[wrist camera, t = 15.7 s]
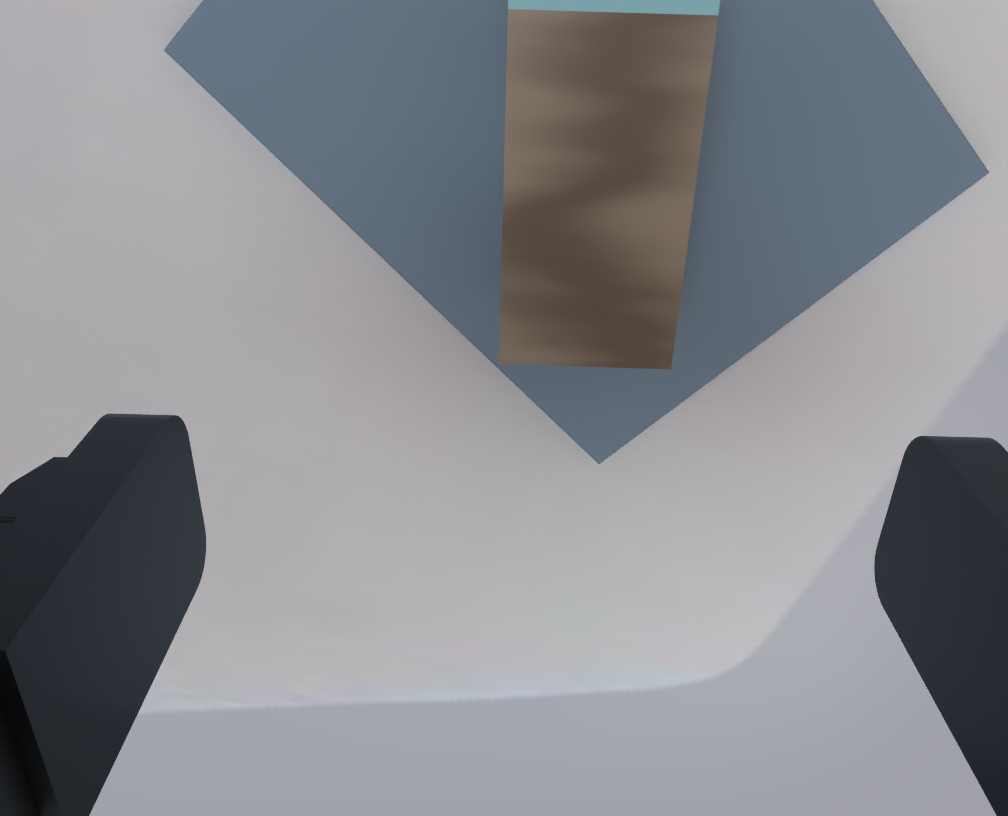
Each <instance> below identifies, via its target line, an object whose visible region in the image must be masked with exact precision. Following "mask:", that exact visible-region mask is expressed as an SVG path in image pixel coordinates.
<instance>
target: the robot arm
mask: <svg viewBox="0 0 1008 816" xmlns="http://www.w3.org/2000/svg"><path fill="white" fill-rule="evenodd" d="M205 554H206V533H205V526H204V520H203V514H202V509H201V503H200V497H199V492H198V486H197V481H196V475H195V469H194V464H193V458H192V452H191V447H190V441H189V436H188V432H187V429H186V426H185V424H184V422H183V420H182V419H181V418H180V417H179V416H176V415H142V414H106V415H104V416H103V417H101V418H100V419H99V420H98V422H97V423H96V424H95V425H94V426H93V428H92V429H91V430H90V431H89V432H88V434H87V435H86V436H85V437H84V438H83V440H82V441H81V442H80V443H79V444H78V446H77V447H76V448H75V449H74V450H73V451H72V453H71V454H70V455H69V456H68V457H54V458H52V459H50V460H49V461H47V462H45V463H44V464H42V465H40V466H39V467H37V468H36V469H34V470H32V471H31V472H29V473H27V474H26V475H24V476H22V477H21V478H19V479H17V480H16V481H14V482H13V483H11V484H10V485H9V486H8V487H7V488H6V489H5V490H4V491H3V492H2V494H1V495H0V816H89V814H90V813H91V810H92V808H93V806H94V804H95V802H96V800H97V798H98V795H99V794H100V792H101V789H102V787H103V785H104V783H105V781H106V779H107V777H108V775H109V773H110V771H111V768H112V766H113V764H114V762H115V760H116V758H117V756H118V754H119V752H120V750H121V747H122V745H123V743H124V741H125V739H126V737H127V735H128V733H129V731H130V729H131V726H132V724H133V722H134V720H135V718H136V716H137V714H138V712H139V710H140V708H141V706H142V703H143V701H144V699H145V697H146V695H147V693H148V691H149V689H150V687H151V685H152V682H153V680H154V678H155V676H156V674H157V672H158V670H159V668H160V666H161V664H162V661H163V659H164V657H165V655H166V653H167V651H168V649H169V647H170V645H171V643H172V640H173V638H174V636H175V634H176V632H177V630H178V628H179V626H180V624H181V622H182V620H183V617H184V615H185V613H186V611H187V609H188V607H189V605H190V603H191V601H192V599H193V596H194V594H195V592H196V590H197V588H198V586H199V583H200V580H201V577H202V573H203V569H204V563H205ZM875 582H876V587H877V592H878V596H879V599H880V601H881V604H882V606H883V608H884V610H885V611H886V613H887V615H888V617H889V619H890V621H891V622H892V624H893V626H894V628H895V630H896V632H897V633H898V635H899V637H900V639H901V641H902V642H903V644H904V646H905V648H906V650H907V652H908V654H909V655H910V657H911V659H912V661H913V663H914V665H915V666H916V668H917V670H918V672H919V674H920V676H921V678H922V679H923V681H924V683H925V685H926V687H927V689H928V690H929V692H930V694H931V696H932V698H933V700H934V701H935V703H936V705H937V707H938V709H939V710H940V712H941V714H942V716H943V718H944V720H945V722H946V723H947V725H948V727H949V729H950V731H951V732H952V734H953V736H954V738H955V740H956V741H957V743H958V745H959V747H960V749H961V751H962V753H963V755H964V756H965V758H966V760H967V762H968V764H969V766H970V767H971V769H972V771H973V773H974V775H975V776H976V778H977V780H978V782H979V784H980V786H981V787H982V789H983V791H984V793H985V795H986V797H987V799H988V800H989V802H990V804H991V806H992V808H993V810H994V811H995V813H996V815H997V816H1008V452H1007V451H1006V450H1005V449H1004V448H1003V447H1002V446H1001V445H1000V444H999V443H998V442H997V441H995V440H993V439H991V438H978V437H977V438H975V437H939V436H937V437H936V436H920V437H917V438H915V439H914V440H913V441H911V443H910V444H909V445H908V447H907V449H906V451H905V453H904V456H903V459H902V463H901V466H900V470H899V473H898V476H897V480H896V483H895V487H894V490H893V494H892V497H891V500H890V504H889V508H888V511H887V514H886V518H885V521H884V525H883V528H882V531H881V535H880V538H879V541H878V545H877V549H876V554H875Z"/></svg>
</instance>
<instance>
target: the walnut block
mask: <svg viewBox="0 0 1008 816" xmlns="http://www.w3.org/2000/svg"><path fill="white" fill-rule="evenodd" d="M719 6H720V0H508V25H507V65H506V105H505V145H504V184H503V224H502V264H501V304H500V344H499V364H518V365H549V366H580V367H611V368H642V369H671V367H672V359H673V352H674V344H675V337H676V329H677V322H678V314H679V307H680V299H681V292H682V284H683V277H684V269H685V262H686V254H687V247H688V239H689V232H690V224H691V216H692V209H693V201H694V194H695V186H696V179H697V171H698V164H699V156H700V149H701V141H702V134H703V126H704V119H705V111H706V104H707V96H708V89H709V81H710V74H711V66H712V59H713V51H714V44H715V36H716V29H717V21H718V14H719Z"/></svg>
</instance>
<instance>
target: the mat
mask: <svg viewBox="0 0 1008 816" xmlns="http://www.w3.org/2000/svg"><path fill="white" fill-rule="evenodd" d="M507 25H508V0H203V2H202V3H201V4H200V5H199V7H198V8H197V9H196V10H195V12H194V13H193V14H192V15H191V17H190V18H189V19H188V20H187V22H186V23H185V24H184V25H183V27H182V28H181V29H180V30H179V32H178V33H177V34H176V35H175V37H174V38H173V39H172V40H171V42H170V43H169V44H168V45H167V47H166V48H165V49H164V51H165V52H166V53H167V54H169V55H170V56H171V57H172V58H173V59H174V60H175V61H176V62H177V63H178V64H179V65H180V66H181V67H182V68H183V69H184V70H185V71H186V72H187V73H188V74H190V75H191V76H192V77H193V78H194V79H195V80H196V81H197V82H198V83H199V84H200V85H201V86H202V87H203V88H204V89H205V90H206V91H207V92H208V93H210V94H211V95H212V96H213V97H214V98H215V99H216V100H217V101H218V102H219V103H220V104H221V105H222V106H223V107H224V108H225V109H226V110H227V111H228V112H229V113H231V114H232V115H233V116H234V117H235V118H236V119H237V120H238V121H239V122H240V123H241V124H242V125H243V126H244V127H245V128H246V129H247V130H248V131H249V132H250V133H252V134H253V135H254V136H255V137H256V138H257V139H258V140H259V141H260V142H261V143H262V144H263V145H264V146H265V147H266V148H267V149H268V150H269V151H270V152H272V153H273V154H274V155H275V156H276V157H277V158H278V159H279V160H280V161H281V162H282V163H283V164H284V165H285V166H286V167H287V168H288V169H289V170H290V171H291V172H293V173H294V174H295V175H296V176H297V177H298V178H299V179H300V180H301V181H302V182H303V183H304V184H305V185H306V186H307V187H308V188H309V189H310V190H311V191H312V192H314V193H315V194H316V195H317V196H318V197H319V198H320V199H321V200H322V201H323V202H324V203H325V204H326V205H327V206H328V207H329V208H330V209H331V210H332V211H334V212H335V213H336V214H337V215H338V216H339V217H340V218H341V219H342V220H343V221H344V222H345V223H346V224H347V225H348V226H349V227H350V228H351V229H352V230H353V231H355V232H356V233H357V234H358V235H359V236H360V237H361V238H362V239H363V240H364V241H365V242H366V243H367V244H368V245H369V246H370V247H371V248H372V249H373V250H375V251H376V252H377V253H378V254H379V255H380V256H381V257H382V258H383V259H384V260H385V261H386V262H387V263H388V264H389V265H390V266H391V267H392V268H393V269H394V270H396V271H397V272H398V273H399V274H400V275H401V276H402V277H403V278H404V279H405V280H406V281H407V282H408V283H409V284H410V285H411V286H412V287H413V288H414V289H415V290H417V291H418V292H419V293H420V294H421V295H422V296H423V297H424V298H425V299H426V300H427V301H428V302H429V303H430V304H431V305H432V306H433V307H434V308H435V309H437V310H438V311H439V312H440V313H441V314H442V315H443V316H444V317H445V318H446V319H447V320H448V321H449V322H450V323H451V324H452V325H453V326H454V327H455V328H456V329H458V330H459V331H460V332H461V333H462V334H463V335H464V336H465V337H466V338H467V339H468V340H469V341H470V342H471V343H472V344H473V345H474V346H475V347H476V348H477V349H479V350H480V351H481V352H482V353H483V354H484V355H485V356H486V357H487V358H488V359H489V360H490V361H491V362H492V363H493V364H494V365H495V366H496V367H497V368H499V369H500V370H501V371H502V372H503V373H504V374H505V375H506V376H507V377H508V378H509V379H510V380H511V381H512V382H513V383H514V384H515V385H516V386H517V387H518V388H520V389H521V390H522V391H523V392H524V393H525V394H526V395H527V396H528V397H529V398H530V399H531V400H532V401H533V402H534V403H535V404H536V405H537V406H538V407H539V408H541V409H542V410H543V411H544V412H545V413H546V414H547V415H548V416H549V417H550V418H551V419H552V420H553V421H554V422H555V423H556V424H557V425H558V426H559V427H561V428H562V429H563V430H564V431H565V432H566V433H567V434H568V435H569V436H570V437H571V438H572V439H573V440H574V441H575V442H576V443H577V444H578V445H579V446H580V447H582V448H583V449H584V450H585V451H586V452H587V453H588V454H589V455H590V456H591V457H592V458H593V459H594V460H595V461H596V462H597V463H598V464H600V463H601V462H602V461H604V460H605V459H607V458H608V457H609V456H611V455H612V454H613V453H615V452H616V451H617V450H619V449H620V448H621V447H623V446H624V445H625V444H627V443H628V442H629V441H631V440H632V439H633V438H635V437H636V436H637V435H639V434H640V433H641V432H643V431H644V430H645V429H647V428H648V427H649V426H651V425H652V424H653V423H655V422H656V421H657V420H659V419H660V418H661V417H663V416H664V415H665V414H667V413H668V412H669V411H671V410H672V409H673V408H675V407H676V406H677V405H679V404H680V403H681V402H683V401H684V400H685V399H687V398H688V397H689V396H691V395H692V394H693V393H695V392H696V391H697V390H699V389H700V388H701V387H703V386H704V385H706V384H707V383H708V382H710V381H711V380H712V379H714V378H715V377H716V376H718V375H719V374H720V373H722V372H723V371H724V370H726V369H727V368H728V367H730V366H731V365H732V364H734V363H735V362H736V361H738V360H739V359H740V358H742V357H743V356H744V355H746V354H747V353H748V352H750V351H751V350H752V349H754V348H755V347H756V346H758V345H759V344H760V343H762V342H763V341H764V340H766V339H767V338H768V337H770V336H771V335H772V334H774V333H775V332H776V331H778V330H779V329H780V328H782V327H783V326H784V325H786V324H787V323H788V322H790V321H791V320H792V319H794V318H795V317H796V316H798V315H799V314H801V313H802V312H803V311H805V310H806V309H807V308H809V307H810V306H811V305H813V304H814V303H815V302H817V301H818V300H819V299H821V298H822V297H823V296H825V295H826V294H827V293H829V292H830V291H831V290H833V289H834V288H835V287H837V286H838V285H839V284H841V283H842V282H843V281H845V280H846V279H847V278H849V277H850V276H851V275H853V274H854V273H855V272H857V271H858V270H859V269H861V268H862V267H863V266H865V265H866V264H867V263H869V262H870V261H871V260H873V259H874V258H875V257H877V256H878V255H879V254H881V253H882V252H883V251H885V250H886V249H887V248H889V247H890V246H891V245H893V244H894V243H895V242H897V241H898V240H900V239H901V238H902V237H904V236H905V235H906V234H908V233H909V232H910V231H912V230H913V229H914V228H916V227H917V226H918V225H920V224H921V223H922V222H924V221H925V220H926V219H928V218H929V217H930V216H932V215H933V214H934V213H936V212H937V211H938V210H940V209H941V208H942V207H944V206H945V205H946V204H948V203H949V202H950V201H952V200H953V199H954V198H956V197H957V196H958V195H960V194H961V193H962V192H964V191H965V190H966V189H968V188H969V187H970V186H972V185H973V184H974V183H976V182H977V181H978V180H980V179H981V178H982V177H984V176H985V175H986V174H988V173H989V171H988V170H987V169H986V167H985V166H984V164H983V163H982V161H981V160H980V158H979V157H978V155H977V154H976V152H975V151H974V149H973V148H972V146H971V145H970V143H969V142H968V141H967V139H966V138H965V136H964V135H963V133H962V132H961V130H960V129H959V127H958V126H957V124H956V123H955V121H954V120H953V118H952V117H951V115H950V114H949V113H948V111H947V110H946V108H945V107H944V105H943V104H942V102H941V101H940V99H939V98H938V96H937V95H936V93H935V92H934V90H933V89H932V87H931V86H930V85H929V83H928V82H927V80H926V79H925V77H924V76H923V74H922V73H921V71H920V70H919V68H918V67H917V65H916V64H915V62H914V61H913V59H912V58H911V57H910V55H909V54H908V52H907V51H906V49H905V48H904V46H903V45H902V43H901V42H900V40H899V39H898V37H897V36H896V34H895V33H894V31H893V30H892V29H891V27H890V26H889V24H888V23H887V21H886V20H885V18H884V17H883V15H882V14H881V12H880V11H879V9H878V8H877V6H876V5H875V3H874V2H873V1H872V0H720V6H719V14H718V21H717V29H716V36H715V44H714V51H713V59H712V66H711V74H710V81H709V89H708V96H707V104H706V111H705V119H704V126H703V134H702V141H701V149H700V156H699V164H698V171H697V179H696V186H695V194H694V201H693V209H692V216H691V224H690V232H689V239H688V247H687V254H686V262H685V269H684V277H683V284H682V292H681V299H680V307H679V314H678V322H677V329H676V337H675V344H674V352H673V359H672V367H671V369H642V368H611V367H580V366H549V365H518V364H499V344H500V304H501V264H502V224H503V184H504V145H505V105H506V65H507Z"/></svg>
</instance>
